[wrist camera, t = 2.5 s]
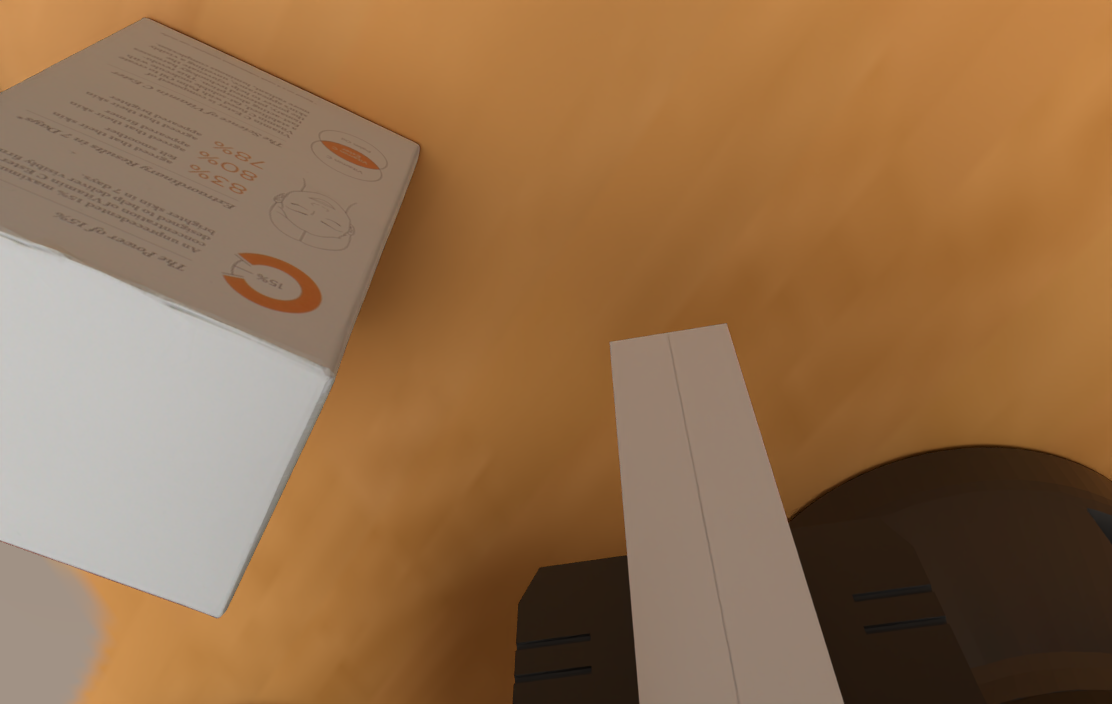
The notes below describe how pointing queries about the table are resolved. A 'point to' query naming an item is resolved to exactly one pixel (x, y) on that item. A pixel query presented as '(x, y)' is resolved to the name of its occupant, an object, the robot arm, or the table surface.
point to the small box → (174, 301)
